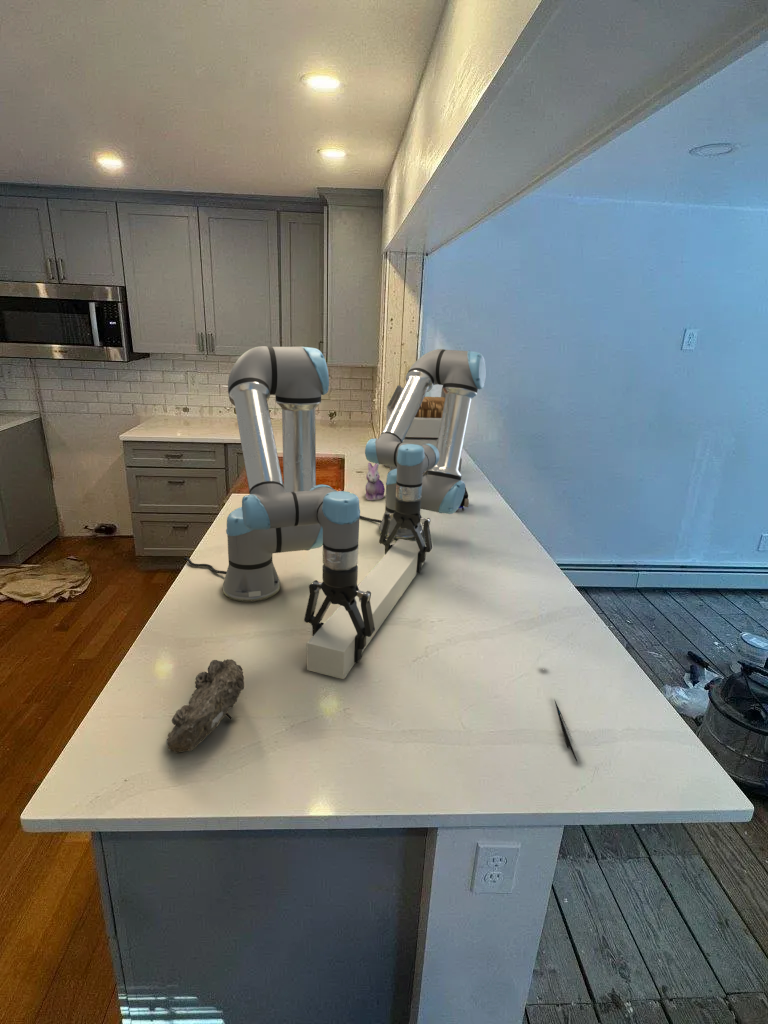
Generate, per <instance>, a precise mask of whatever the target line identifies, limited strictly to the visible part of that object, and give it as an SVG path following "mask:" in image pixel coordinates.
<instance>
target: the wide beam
mask: <svg viewBox="0 0 768 1024" xmlns="http://www.w3.org/2000/svg"><path fill="white" fill-rule="evenodd" d="M392 545H393V546H392V547H391V548H390V550H389V551H388V552H387V553H386V554H385V553H384V555H383V556H382V557H381V558H380V559H379V561H378V562H377V563H376V564H375V565H374V566H373V568H372V569H371V570H370V571H369V572H368V573H367V574H366V575H365V576H364V578H363V579H362V580H361V581H360V582H359V583H358V584H357V586H358V588H359V590H360V591H363V592H366V591H370V592H371V598H370V604H371V610H372V615H373V621H374V626H375V631H374V632H373V634H372V635H371V637H368V636H366V646H365V647H364V649H362V653H363V652H364V651H365V649H366V648H367V646H368V645H369V644H370V642H371V641H372V639H373V638H374V636H375V635H376V634H377V632H378V630H379V629H380V627H381V626H382V625H383V623H384V622H385V620H386V618H387V617H388V616H389V614H390V613H391V611H392V610H393V609H394V607H395V606H396V604H397V603H398V602H399V600H400V598H401V597H402V596H403V594H404V593H405V591H406V590H407V588H408V587H409V586H410V585H411V583H412V581H413V580H414V579H415V577H416V576H417V575H418V573H417V559H418V552H419V551H420V549H419V547H418V544H417V542H416V540H415V541H414V540H404V539H398V540H396V541H395V543H393V544H392ZM424 564H425V562H424V563H422V566H423V565H424ZM355 600H356V602H357V604H356V605H357V607H358V610H359V612H360V614H361V617H362V619H363V615H362V610H361V602H359V597H358V596H356V597H355ZM349 604H350V603H349ZM323 623H324V624H323V625H322V627H321V628H320V629H319V630H318V631H317V632H316V633H315V635H314V636H311V638H310V639H309V640H308V641H307V642H306V670H307V671H308V672H309V671H310V672H314V673H317V674H320V675H324V676H330V677H332V678H337V679H341V680H345V678H347V675H348V674H349V673H350V671H351V669H352V668H353V666H355V664H356V663H354V651H355V636H356V635H357V632H356V629H355V627H354V625H353V622H352V620H351V618H350V615H349V613H348V611H346V609H345V607H344V606H341V605H338V607H337V608H336V609H335V611H334V612H333V613H332V614H331V615H330V616H329V617H328V618H327V619H326V621H325V622H323Z"/></svg>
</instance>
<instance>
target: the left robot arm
mask: <svg viewBox="0 0 768 1024" xmlns="http://www.w3.org/2000/svg"><path fill="white" fill-rule="evenodd" d="M326 361H327V360H326V358H325V356H324V354H323V353H322V351H321V350H320V349H319V348H316V347H309V346H267V345H260V346H255V347H252V348H250V349H248V350H246V351H245V352H244V353H242V355H240V356H239V358H237V360H236V361H235V363H234V364H233V366H232V367H231V370H230V373H229V376H228V381H227V394H228V399H229V403H231V405H233V406H234V409H235V414H236V420H237V427H238V433H239V439H240V446H241V451H242V457H243V463H244V469H245V474H246V475H245V476H246V480H247V486H248V493H249V494H246V495H244V496H243V497H242V499H241V506H240V507H237V508H235V509H234V510H232V511H231V512H230V513H229V514H228V515H227V517H226V529H225V532H226V533H225V534H226V536H227V557H228V566H227V570H219V569H215V568H214V566H213V565H211V564H209V563H194V562H193V561H192V560H191V559H190V557H189V556H185V557H184V558H183V561H187V563H188V564H189V565H190V566H193V567H196V568H197V567H199V568H200V567H201V568H202V567H204V568H209V569H210V571H211V572H213V573H215V574H222V575H225V576H224V580H223V585H222V591H223V594H224V596H226V597H227V598H228V599H229V600H230V599H231V600H233V601H237V602H244V603H251V602H252V603H254V602H259V601H260V602H261V601H264V600H267V599H270V598H272V597H273V596H275V595H277V593H279V591H280V588H281V582H280V578H279V575H278V573H277V572H278V571H277V569H276V567H275V565H274V561H273V554H280V553H291V552H300V551H309V550H313V549H320V548H321V547H322V564H323V565H322V577H321V578H322V579H321V580H322V582H320V581H318V579H315V580H313V581H312V582H311V583H310V584H308V590H309V597H308V601H307V605H306V609H305V613H304V619H303V621H304V622H305V623H306V624H310V625H311V626H312V627H311V629H312V631H311V633H312V634H311V637H313V636H314V635H315V633H316V632H317V631H318V630H319V629H320V628H321V627H322V625H323V624H324V623H325V622H322V620H323V618H324V616H325V614H326V613H327V611H328V609H329V607H330V606H331V604H332V605H338V606H340V605H341V606H344V607H345V609H346V611H348V613H349V615H350V618H351V620H352V622H353V625H354V627H355V629H356V632H357V635H356V636H355V651H354V663H355V664H358V663H359V662H360V660H361V659H362V655H363V652H362V649H364V647H365V646H366V636H368V637H371V635H372V634H373V632H374V631H375V626H374V621H373V615H372V610H371V604H370V598H371V592H370V591H366V592H363V591H360V590H359V588H358V575H359V566H358V564H359V538H360V537H359V535H360V518H359V516H361V508H360V499H359V497H358V495H357V494H356V493H354V492H353V493H352V492H350V491H345V490H337V489H334V488H333V487H332V486H330V485H328V484H321V483H320V484H317V465H316V463H317V458H316V457H317V455H316V454H317V453H316V450H317V448H316V445H317V442H316V440H317V439H316V434H317V433H316V429H317V428H316V409H317V407H318V406H319V405H321V404H322V396H324V395H327V394H328V392H329V387H330V376H329V370H328V369H329V368H328V365H327V362H326ZM271 396H275V403H276V404H277V405H278V406H279V407H280V408H281V424H282V425H281V429H282V431H281V432H282V470H281V464H280V460H279V459H280V458H279V454H278V449H277V445H276V439H275V435H274V429H273V424H272V419H271V413H270V407H269V403H268V401H269V400H270V397H271ZM283 484H284V485H283ZM321 591H322V592H323V594H324V595H325V598H324V600H323V602H322V604H321V605H320V608H319V609H318V612H316V608H317V603H318V600H319V595H320V592H321ZM356 596H358V597H359V602H361V610H362V615H363V619H362V617H361V614H360V612H359V610H358V607H357V605H356V604H357V602H356V600H355V597H356ZM349 603H350V604H349ZM315 613H316V615H315ZM366 647H367V646H366ZM364 650H365V649H364Z"/></svg>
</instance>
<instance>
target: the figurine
mask: <svg viewBox="0 0 768 1024" xmlns="http://www.w3.org/2000/svg"><path fill="white" fill-rule="evenodd" d="M372 464H373V463H372V462H369V461H368V463H367V468H368V469H367V473H366V475H365V478H366V480H367V482H366V484H365V494H364V498H365V499H366V500H367V501H377V500H382V499H384V497H385V493H386V487H385V484H384V482H383V481H382V480H381V479H380V478H381V475H380V473H379V471H378V469H379V464H376V463H374V465H372Z"/></svg>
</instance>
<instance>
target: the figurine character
mask: <svg viewBox="0 0 768 1024" xmlns="http://www.w3.org/2000/svg"><path fill="white" fill-rule="evenodd" d="M469 505H470V500H469V492H468V490H467V488H466V486H465V493H464V497H463V500H462V502H461V504H460V506H459V508H458V509H461V511H462V512H464V511H465V508H469Z"/></svg>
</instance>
